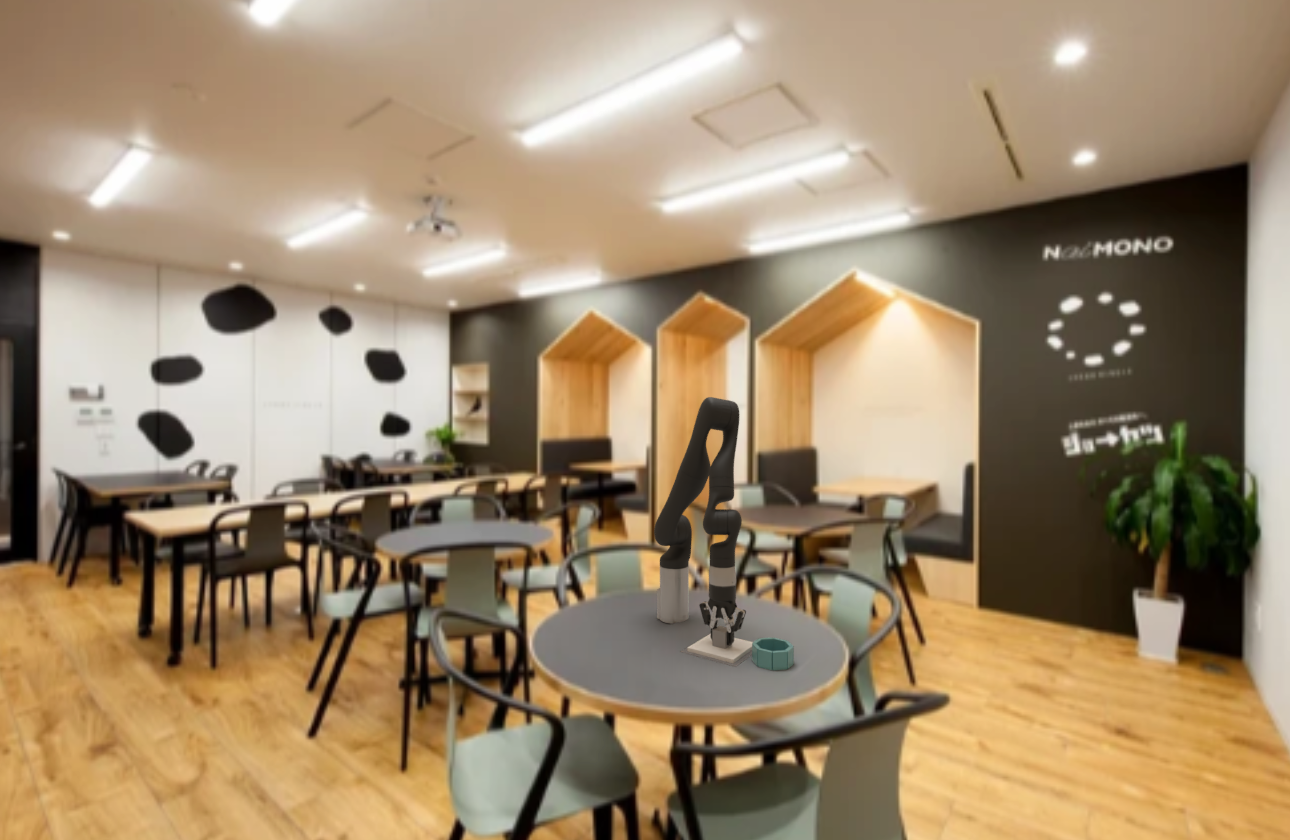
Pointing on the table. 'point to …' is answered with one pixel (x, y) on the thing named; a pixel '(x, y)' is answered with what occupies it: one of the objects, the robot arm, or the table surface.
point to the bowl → (773, 653)
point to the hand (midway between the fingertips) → (722, 642)
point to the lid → (721, 646)
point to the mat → (717, 659)
